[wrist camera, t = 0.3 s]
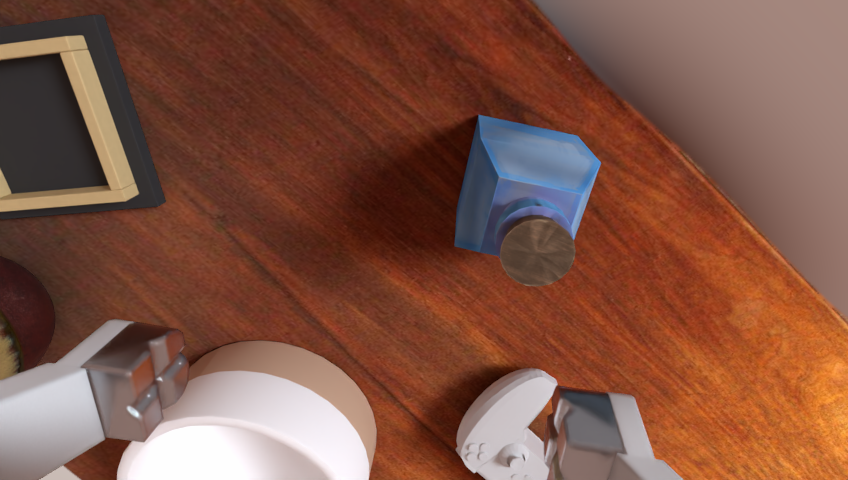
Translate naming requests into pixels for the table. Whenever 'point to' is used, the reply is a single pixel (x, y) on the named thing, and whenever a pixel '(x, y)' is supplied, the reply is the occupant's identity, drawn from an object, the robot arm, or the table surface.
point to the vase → (23, 319)
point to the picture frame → (69, 123)
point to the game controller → (506, 428)
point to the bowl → (259, 421)
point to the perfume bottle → (524, 198)
